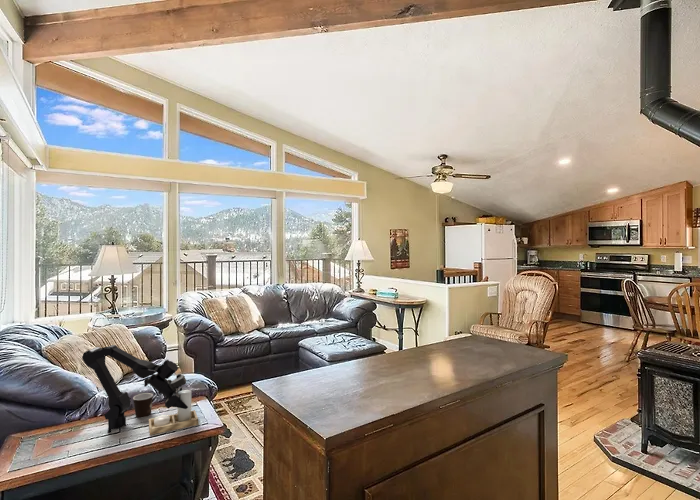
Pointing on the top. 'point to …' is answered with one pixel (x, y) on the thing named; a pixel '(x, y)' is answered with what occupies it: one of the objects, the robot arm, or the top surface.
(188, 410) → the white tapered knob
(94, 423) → the top surface
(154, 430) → the open wooden box
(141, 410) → the coffee mug
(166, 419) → the white round cylinder
